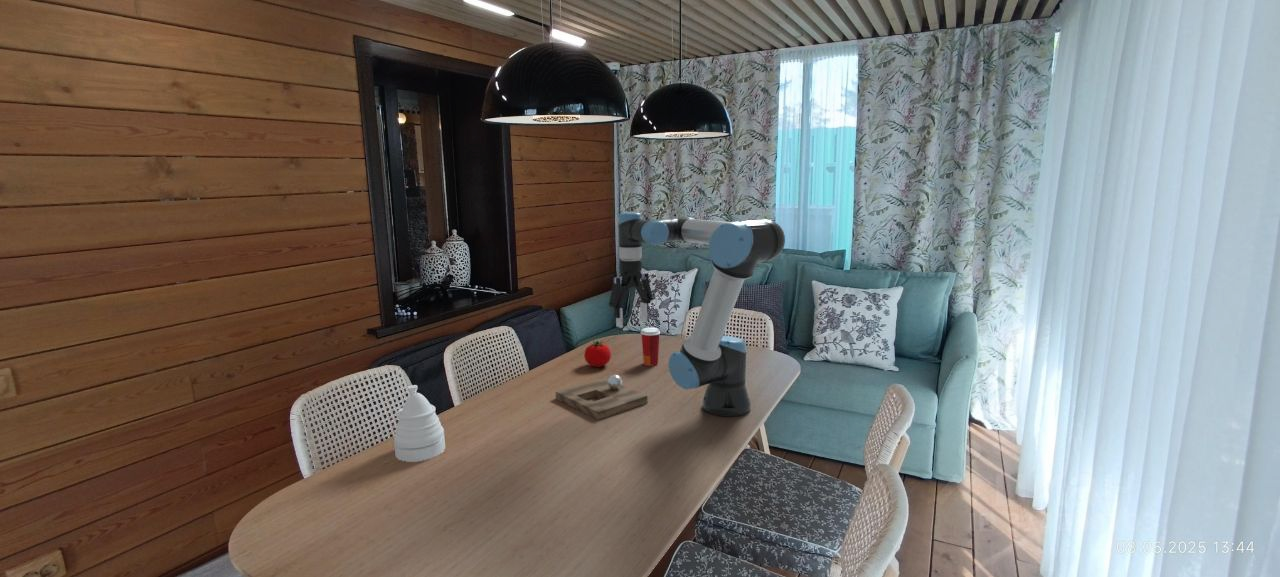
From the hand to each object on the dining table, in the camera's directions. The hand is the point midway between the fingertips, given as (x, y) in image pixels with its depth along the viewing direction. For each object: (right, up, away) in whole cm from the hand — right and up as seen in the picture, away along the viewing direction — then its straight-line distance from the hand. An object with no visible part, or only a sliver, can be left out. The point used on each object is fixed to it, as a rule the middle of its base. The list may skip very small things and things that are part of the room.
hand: (632, 324), depth 200 cm
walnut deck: (-10, -25, -4) cm, 27 cm away
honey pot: (-57, -33, -38) cm, 76 cm away
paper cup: (+7, -18, +33) cm, 38 cm away
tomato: (-14, -19, +31) cm, 39 cm away
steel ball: (-6, -19, -2) cm, 20 cm away
